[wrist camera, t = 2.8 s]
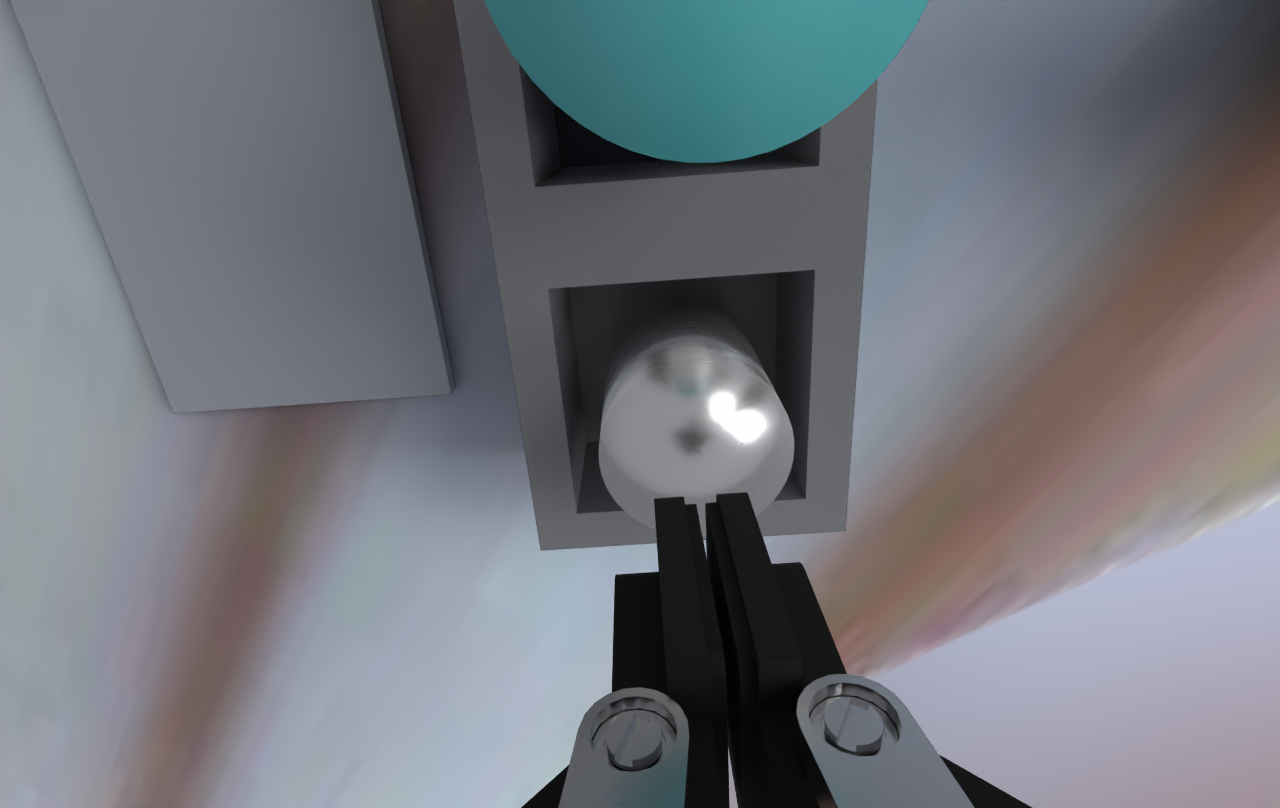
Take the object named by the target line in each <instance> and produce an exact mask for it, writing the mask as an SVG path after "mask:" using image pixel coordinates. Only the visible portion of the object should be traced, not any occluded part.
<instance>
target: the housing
mask: <svg viewBox="0 0 1280 808" xmlns="http://www.w3.org/2000/svg"><path fill="white" fill-rule="evenodd" d="M453 3H454V9H455V16H456V22H457V28H458V35H459V41H460V47H461V53H462V60H463V66H464V72H465V78H466V85H467V91H468V97H469V104H470V110H471V116H472V122H473V129H474V135H475V141H476V147H477V154H478V160H479V166H480V173H481V179H482V185H483V191H484V198H485V204H486V210H487V217H488V223H489V229H490V235H491V242H492V248H493V254H494V260H495V267H496V273H497V279H498V286H499V292H500V298H501V304H502V311H503V317H504V323H505V329H506V336H507V342H508V348H509V355H510V361H511V367H512V373H513V380H514V386H515V392H516V398H517V405H518V411H519V417H520V424H521V430H522V436H523V442H524V449H525V455H526V461H527V468H528V474H529V480H530V486H531V493H532V499H533V505H534V511H535V518H536V524H537V530H538V537H539V543H540V549H541V550H557V549H572V548H588V547H604V546H620V545H635V544H651V543H657V537H656V530H654V529H652V528H650V527H648V526H645V525H643V524H642V523H640V522H638V521H637V520H635V519H634V518H632V517H631V516H630V515H629V514H627V513H626V512H625V511H624V510H623V509H622V508H621V507H620V506H619V505H618V504H617V503H616V501H615V500H614V499H613V497H612V496H611V494H610V493H609V491H608V489H607V487H606V485H605V483H604V480H603V477H602V474H601V470H600V465H599V441H600V431H601V421H602V411H603V402H604V392H605V382H606V372H607V363H608V358H609V354H610V351H611V349H612V346H613V344H614V342H615V340H616V339H617V337H618V335H619V334H620V333H621V331H622V330H623V329H624V327H625V326H626V325H628V324H629V323H630V322H631V321H632V320H633V319H634V318H636V317H637V316H638V315H640V314H641V313H643V312H645V311H647V310H648V309H651V308H653V307H656V306H658V305H662V304H666V303H672V302H695V303H701V304H704V305H708V306H711V307H713V308H716V309H718V310H720V311H721V312H723V313H725V314H726V315H728V316H729V317H730V318H732V319H733V320H734V321H735V322H736V323H737V324H738V325H739V326H740V327H741V329H742V330H743V331H744V333H745V334H746V336H747V338H748V340H749V341H750V343H751V345H752V347H753V349H754V351H755V353H756V355H757V357H758V359H759V361H760V363H761V365H762V366H763V368H764V370H765V372H766V374H767V376H768V378H769V380H770V382H771V384H772V386H773V388H774V390H775V392H776V393H777V395H778V397H779V399H780V401H781V403H782V405H783V407H784V409H785V411H786V413H787V415H788V417H789V420H790V423H791V426H792V430H793V435H794V457H793V463H792V467H791V471H790V473H789V476H788V478H787V481H786V483H785V484H784V486H783V488H782V490H781V491H780V493H779V494H778V495H777V497H776V498H775V499H774V501H773V502H772V503H771V504H770V505H769V506H768V507H767V508H766V509H765V510H763V511H762V512H761V513H760V514H758V515H757V516H756V519H757V522H758V525H759V528H760V531H761V534H762V536H777V535H793V534H808V533H824V532H840V531H845V530H846V516H847V502H848V488H849V474H850V460H851V445H852V431H853V417H854V403H855V389H856V375H857V361H858V347H859V332H860V318H861V304H862V290H863V276H864V262H865V248H866V233H867V219H868V205H869V191H870V177H871V163H872V149H873V135H874V120H875V106H876V92H877V80H876V81H875V82H874V83H873V84H872V85H870V86H869V87H868V88H867V89H866V90H865V91H864V92H863V93H862V94H861V95H860V96H859V97H858V98H857V99H856V100H855V101H854V102H853V103H852V104H851V105H849V106H848V107H847V108H846V109H844V110H843V111H842V112H840V113H839V114H838V115H836V116H835V117H834V118H833V119H831V120H830V121H829V122H827V123H826V124H824V125H822V126H821V127H819V128H817V129H816V130H814V131H812V132H811V133H809V134H807V135H806V136H804V137H802V138H801V139H798V140H796V141H794V142H791V143H789V144H787V145H784V146H782V147H780V148H778V149H775V150H773V151H769V153H762V154H759V155H755V156H752V157H748V158H745V159H738V160H731V161H724V162H717V163H686V162H679V161H671V160H665V161H652V162H638V163H625V164H611V165H598V166H584V167H571V168H561V166H560V157H559V148H558V139H557V130H556V121H555V113H554V104H553V102H552V101H551V100H550V99H549V97H548V96H547V95H546V94H545V93H544V92H543V91H542V90H541V89H540V88H539V87H538V86H537V85H536V84H535V83H534V82H533V81H532V80H531V78H530V77H529V76H528V74H527V73H526V72H525V70H524V69H523V68H522V66H521V65H520V64H519V62H518V61H517V60H516V58H515V57H514V56H513V54H512V53H511V51H510V49H509V48H508V46H507V44H506V43H505V41H504V39H503V37H502V36H501V34H500V32H499V31H498V29H497V27H496V26H495V24H494V22H493V19H492V17H491V15H490V13H489V10H488V8H487V6H486V4H485V1H484V0H453ZM702 537H703V540H706V536H702Z"/></svg>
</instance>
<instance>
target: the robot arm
mask: <svg viewBox="0 0 1280 808" xmlns="http://www.w3.org/2000/svg"><path fill="white" fill-rule="evenodd" d="M654 508H655V522H656V537H657V551H658V565H659V572H649V573H635V574H620V575H616V576H615V596H614V633H613V670H612V693H609V694H608V695H606V696H604V697H603V698H601V699H600V700H598V701H597V702H595V703H594V704H593V706H592V707H591V708H590V709H589V710H588V711H587V712H586V713H585V715H584V717H583V720H582V722H581V724H580V726H579V729H578V733H577V737H576V741H575V745H574V748H573V752H572V756H571V760H570V764H569V765H568V766H567V767H566V768H565V769H564V770H563V771H562V772H561V773H559V774H558V775H557V776H556V777H555V778H554V779H553V780H552V781H550V782H549V783H548V784H547V785H546V786H545V787H544V788H543V789H542V790H540V791H539V792H538V793H537V794H536V795H535V796H534V797H533V798H531V799H530V800H529V801H528V802H527V803H526V804H525V805H524V806H523V807H521V808H729V771H728V748H729V754H730V760H731V766H732V773H733V778H734V785H735V791H736V797H737V803H738V808H1032V807H1030V806H1028V805H1027V804H1025V803H1023V802H1021V801H1019V800H1018V799H1016V798H1014V797H1012V796H1011V795H1009V794H1007V793H1005V792H1004V791H1002V790H1000V789H998V788H997V787H995V786H993V785H991V784H989V783H988V782H986V781H984V780H983V779H981V778H979V777H977V776H975V775H974V774H972V773H970V772H968V771H967V770H965V769H963V768H961V767H960V766H958V765H956V764H954V763H953V762H951V761H949V760H947V759H946V758H944V757H942V756H940V755H939V754H938V753H937V751H936V750H935V748H934V747H933V745H932V744H931V742H930V741H929V740H928V738H927V737H926V735H925V734H924V732H923V731H922V729H921V728H920V726H919V725H918V723H917V722H916V720H915V719H914V717H913V716H912V714H911V713H910V711H909V710H908V708H907V707H906V706H905V705H904V704H903V702H902V701H901V700H900V699H899V698H898V697H897V696H896V695H895V694H894V693H893V692H891V691H890V690H889V689H887V688H886V687H884V686H883V685H881V684H880V683H877V682H875V681H872V680H870V679H868V678H865V677H862V676H856V675H850V674H847V673H846V671H845V668H844V666H843V663H842V661H841V658H840V656H839V653H838V651H837V648H836V646H835V643H834V641H833V638H832V636H831V633H830V631H829V628H828V626H827V623H826V621H825V618H824V616H823V613H822V611H821V609H820V606H819V604H818V601H817V599H816V596H815V594H814V591H813V589H812V586H811V584H810V581H809V579H808V576H807V574H806V571H805V569H804V567H803V565H802V564H801V563H800V562H796V563H781V564H771V561H770V558H769V555H768V552H767V549H766V546H765V543H764V540H763V537H762V534H761V531H760V528H759V525H758V522H757V519H756V516H755V513H754V510H753V507H752V504H751V501H750V498H749V495H748V493H747V492H740V493H725V494H717V495H716V502H712V503H705V518H706V547H707V559H706V553H705V548H704V543H703V537H702V532H701V526H700V521H699V515H698V510H697V505H696V504H685V501H684V497H683V496H682V497H668V498H654Z"/></svg>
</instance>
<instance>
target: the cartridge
mask: <svg viewBox="0 0 1280 808" xmlns="http://www.w3.org/2000/svg"><path fill="white" fill-rule="evenodd" d="M484 1H485V4H486V6H487V8H488V10H489V13H490V15H491V17H492V19H493V22H494V24H495V26H496V27H497V29H498V31H499V32H500V34H501V36H502V37H503V39H504V41H505V43H506V44H507V46H508V48H509V49H510V51H511V53H512V54H513V56H514V57H515V58H516V60H517V61H518V62H519V64H520V65H521V66H522V68H523V69H524V70H525V72H526V73H527V74H528V76H529V77H530V78H531V80H532V81H533V82H534V83H535V84H536V85H537V86H538V87H539V88H540V89H541V90H542V91H543V92H544V93H545V94H546V95H547V96H548V97H549V99H550V100H551V101H552V102H553V103H554V104H555V105H557V106H558V107H559V108H560V109H562V110H563V111H564V112H565V113H567V114H568V115H569V116H570V117H572V118H573V119H574V120H575V121H577V122H578V123H579V124H581V125H582V126H584V127H586V128H587V129H589V130H590V131H592V132H594V133H595V134H597V135H599V136H600V137H602V138H604V139H605V140H608V141H610V142H612V143H615V144H617V145H619V146H621V147H624V148H626V149H628V150H630V151H633V152H637V153H640V154H644V155H648V156H651V157H655V158H658V159H664V160H671V161H679V162H686V163H717V162H724V161H731V160H738V159H745V158H748V157H752V156H755V155H759V154H762V153H766V152H769V151H773V150H775V149H778V148H780V147H782V146H784V145H787V144H789V143H791V142H794V141H796V140H798V139H801V138H802V137H804V136H806V135H807V134H809V133H811V132H812V131H814V130H816V129H817V128H819V127H821V126H822V125H824V124H826V123H827V122H829V121H830V120H831V119H833V118H834V117H835V116H836V115H838V114H839V113H840V112H842V111H843V110H844V109H846V108H847V107H848V106H849V105H851V104H852V103H853V102H854V101H855V100H856V99H857V98H858V97H859V96H860V95H861V94H862V93H863V92H864V91H865V90H866V89H867V88H868V87H869V86H870V85H872V84H873V83H874V82H875V81H876V80H877V78H878V77H879V76H880V75H881V73H882V72H883V71H884V70H885V69H886V67H887V66H888V65H889V64H890V62H891V61H892V60H893V59H894V57H895V56H896V55H897V54H898V53H899V51H900V49H901V48H902V46H903V45H904V43H905V42H906V40H907V39H908V37H909V36H910V34H911V32H912V31H913V29H914V28H915V26H916V25H917V23H918V21H919V19H920V17H921V15H922V13H923V11H924V9H925V8H926V6H927V4H928V2H929V0H484Z"/></svg>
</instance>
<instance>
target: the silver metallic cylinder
mask: <svg viewBox="0 0 1280 808" xmlns="http://www.w3.org/2000/svg"><path fill="white" fill-rule="evenodd" d="M793 457H794V435H793V430H792V426H791V423H790V420H789V417H788V415H787V413H786V411H785V409H784V407H783V405H782V403H781V401H780V399H779V397H778V395H777V393H776V392H775V390H774V388H773V386H772V384H771V382H770V380H769V378H768V376H767V374H766V372H765V370H764V368H763V366H762V365H761V363H760V361H759V359H758V357H757V355H756V353H755V351H754V349H753V347H752V345H751V343H750V341H749V340H748V338H747V336H746V334H745V333H744V331H743V330H742V329H741V327H740V326H739V325H738V324H737V323H736V322H735V321H734V320H733V319H732V318H730V317H729V316H728V315H726V314H725V313H723V312H721V311H720V310H718V309H716V308H713V307H711V306H708V305H704V304H701V303H695V302H672V303H666V304H662V305H658V306H656V307H653V308H651V309H648V310H647V311H645V312H643V313H641V314H640V315H638V316H637V317H636V318H634V319H633V320H632V321H631V322H630V323H629V324H628V325H626V326H625V327H624V329H623V330H622V331H621V333H620V334H619V335H618V337H617V339H616V340H615V342H614V344H613V346H612V349H611V351H610V354H609V358H608V363H607V372H606V382H605V392H604V402H603V411H602V421H601V431H600V441H599V465H600V470H601V474H602V477H603V480H604V483H605V485H606V487H607V489H608V491H609V493H610V494H611V496H612V497H613V499H614V500H615V501H616V503H617V504H618V505H619V506H620V507H621V508H622V509H623V510H624V511H625V512H626V513H627V514H629V515H630V516H631V517H632V518H634V519H635V520H637V521H638V522H640V523H642V524H643V525H645V526H648V527H650V528H652V529H654V530H656V522H655V508H654V498H668V497H682V496H683V497H684V501H685V504H696V505H697V510H698V515H699V521H700V526H701V532H702V536H706V518H705V503H712V502H716V495H717V494H725V493H740V492H747V493H748V495H749V498H750V501H751V504H752V507H753V510H754V513H755V516H757V515H758V514H760V513H761V512H762V511H763V510H765V509H766V508H767V507H768V506H769V505H770V504H771V503H772V502H773V501H774V499H775V498H776V497H777V495H778V494H779V493H780V491H781V490H782V488H783V486H784V484H785V483H786V481H787V478H788V476H789V473H790V471H791V467H792V463H793Z"/></svg>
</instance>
